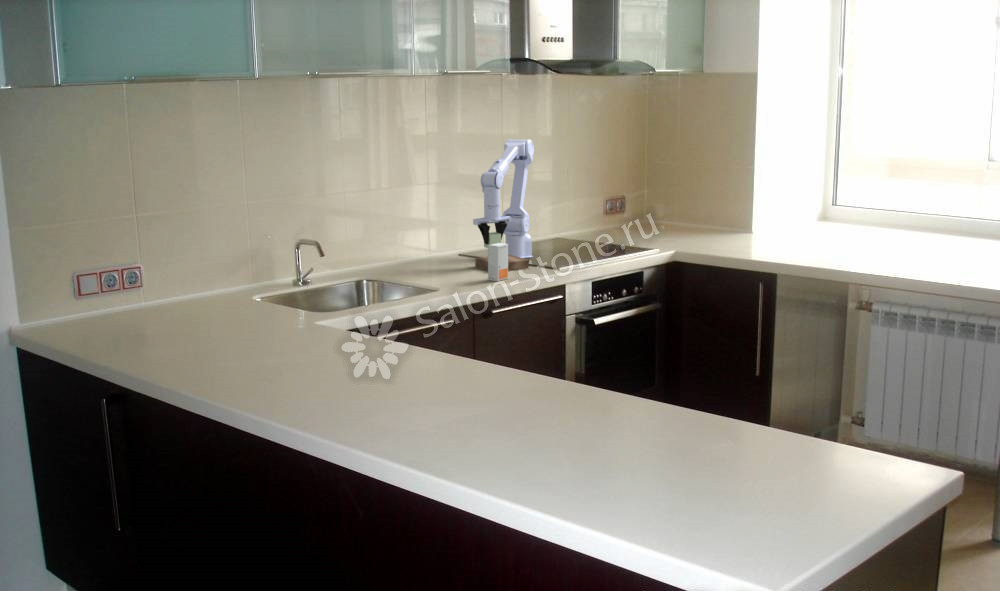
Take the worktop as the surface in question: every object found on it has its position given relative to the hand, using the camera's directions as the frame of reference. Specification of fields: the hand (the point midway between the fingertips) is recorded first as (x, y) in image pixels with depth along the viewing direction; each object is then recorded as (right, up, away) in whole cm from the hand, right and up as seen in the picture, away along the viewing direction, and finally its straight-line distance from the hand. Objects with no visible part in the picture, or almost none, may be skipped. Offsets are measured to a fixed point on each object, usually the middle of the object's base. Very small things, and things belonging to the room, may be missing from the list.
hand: (492, 243), depth 356 cm
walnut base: (+3, -9, 0) cm, 9 cm away
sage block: (0, -1, 0) cm, 1 cm away
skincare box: (+2, -13, -21) cm, 25 cm away
